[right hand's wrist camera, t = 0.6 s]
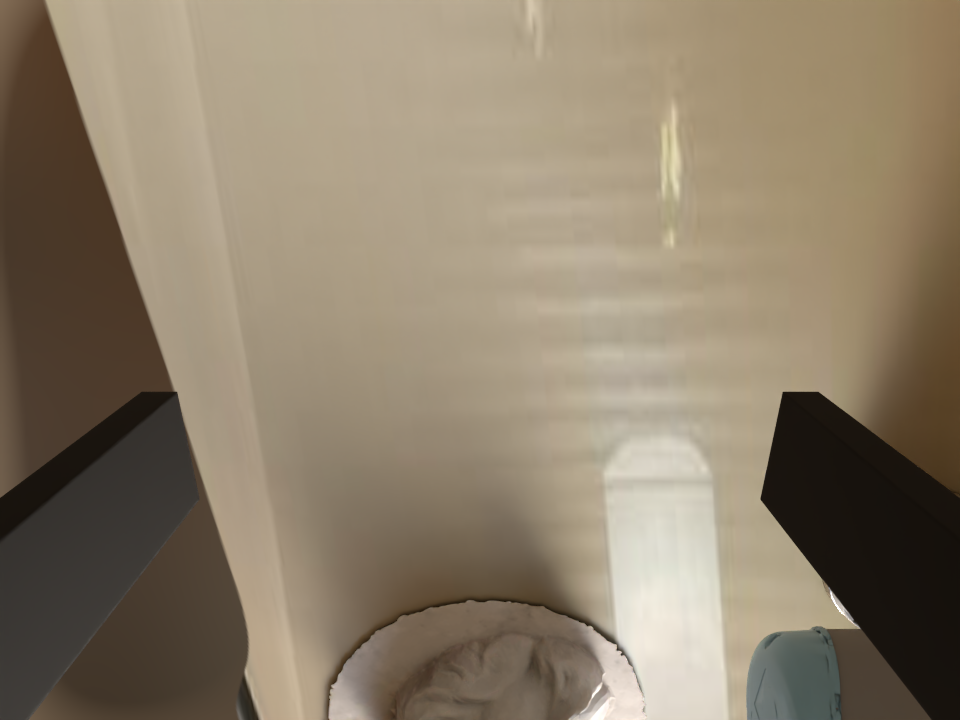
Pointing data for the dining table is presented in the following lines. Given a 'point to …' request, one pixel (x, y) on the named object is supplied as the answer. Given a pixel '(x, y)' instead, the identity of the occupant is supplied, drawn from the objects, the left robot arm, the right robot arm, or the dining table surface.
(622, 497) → the dining table surface
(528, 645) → the grey rock sculpture
